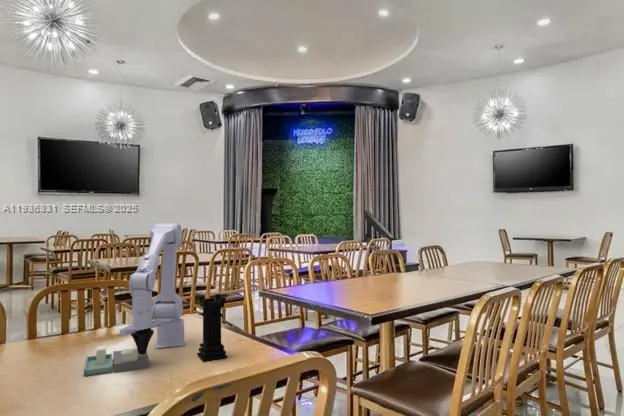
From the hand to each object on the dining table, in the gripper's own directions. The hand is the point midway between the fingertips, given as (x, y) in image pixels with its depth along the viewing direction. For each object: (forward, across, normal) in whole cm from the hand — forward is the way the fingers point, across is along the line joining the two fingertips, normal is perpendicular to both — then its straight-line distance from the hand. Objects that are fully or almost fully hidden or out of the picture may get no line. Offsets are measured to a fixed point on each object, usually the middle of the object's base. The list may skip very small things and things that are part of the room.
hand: (142, 353), depth 143 cm
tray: (+4, +8, -10) cm, 14 cm away
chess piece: (+4, -18, +12) cm, 22 cm away
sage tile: (+1, +3, -2) cm, 4 cm away
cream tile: (+1, +5, -12) cm, 13 cm away
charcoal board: (+4, +1, -5) cm, 6 cm away
